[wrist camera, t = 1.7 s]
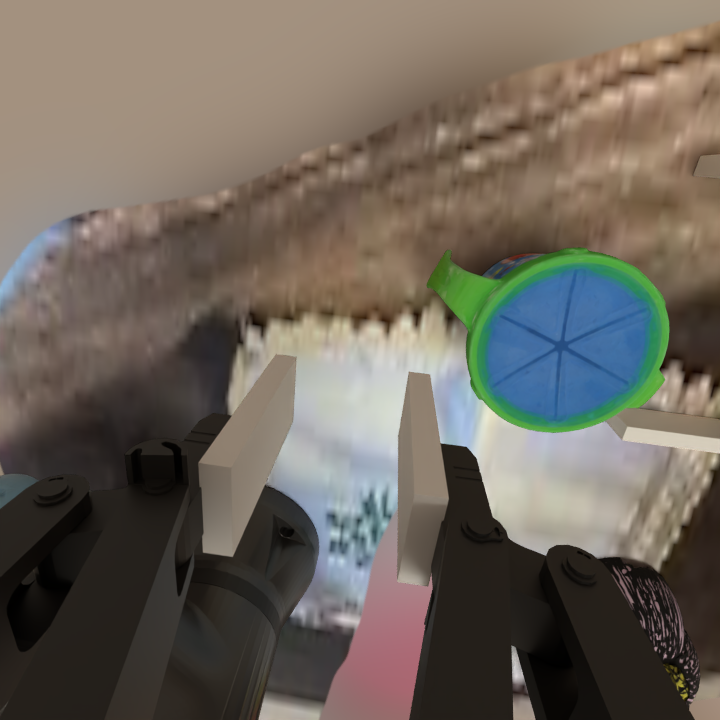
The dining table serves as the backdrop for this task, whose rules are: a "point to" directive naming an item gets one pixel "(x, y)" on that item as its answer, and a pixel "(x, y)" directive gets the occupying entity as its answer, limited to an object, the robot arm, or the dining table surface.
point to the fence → (665, 424)
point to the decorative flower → (659, 622)
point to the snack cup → (558, 336)
